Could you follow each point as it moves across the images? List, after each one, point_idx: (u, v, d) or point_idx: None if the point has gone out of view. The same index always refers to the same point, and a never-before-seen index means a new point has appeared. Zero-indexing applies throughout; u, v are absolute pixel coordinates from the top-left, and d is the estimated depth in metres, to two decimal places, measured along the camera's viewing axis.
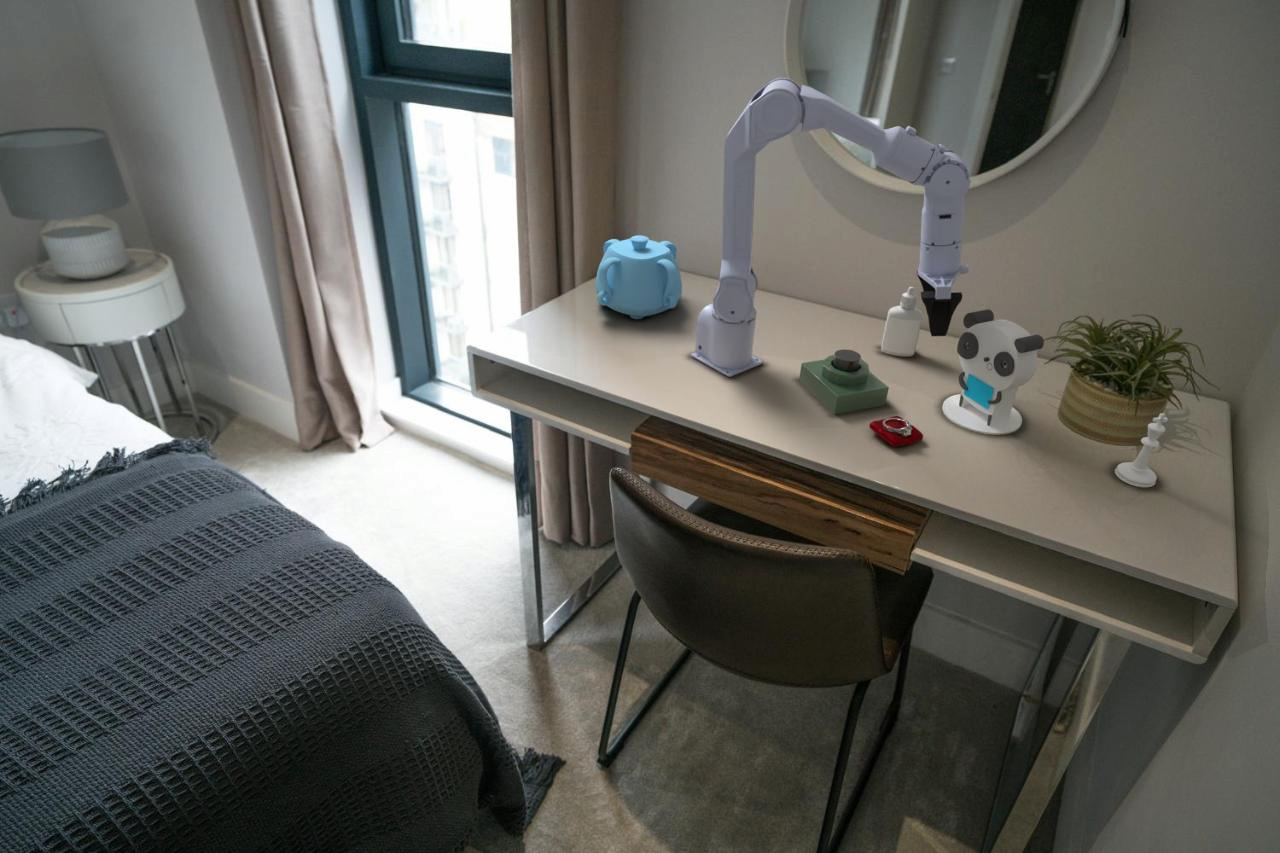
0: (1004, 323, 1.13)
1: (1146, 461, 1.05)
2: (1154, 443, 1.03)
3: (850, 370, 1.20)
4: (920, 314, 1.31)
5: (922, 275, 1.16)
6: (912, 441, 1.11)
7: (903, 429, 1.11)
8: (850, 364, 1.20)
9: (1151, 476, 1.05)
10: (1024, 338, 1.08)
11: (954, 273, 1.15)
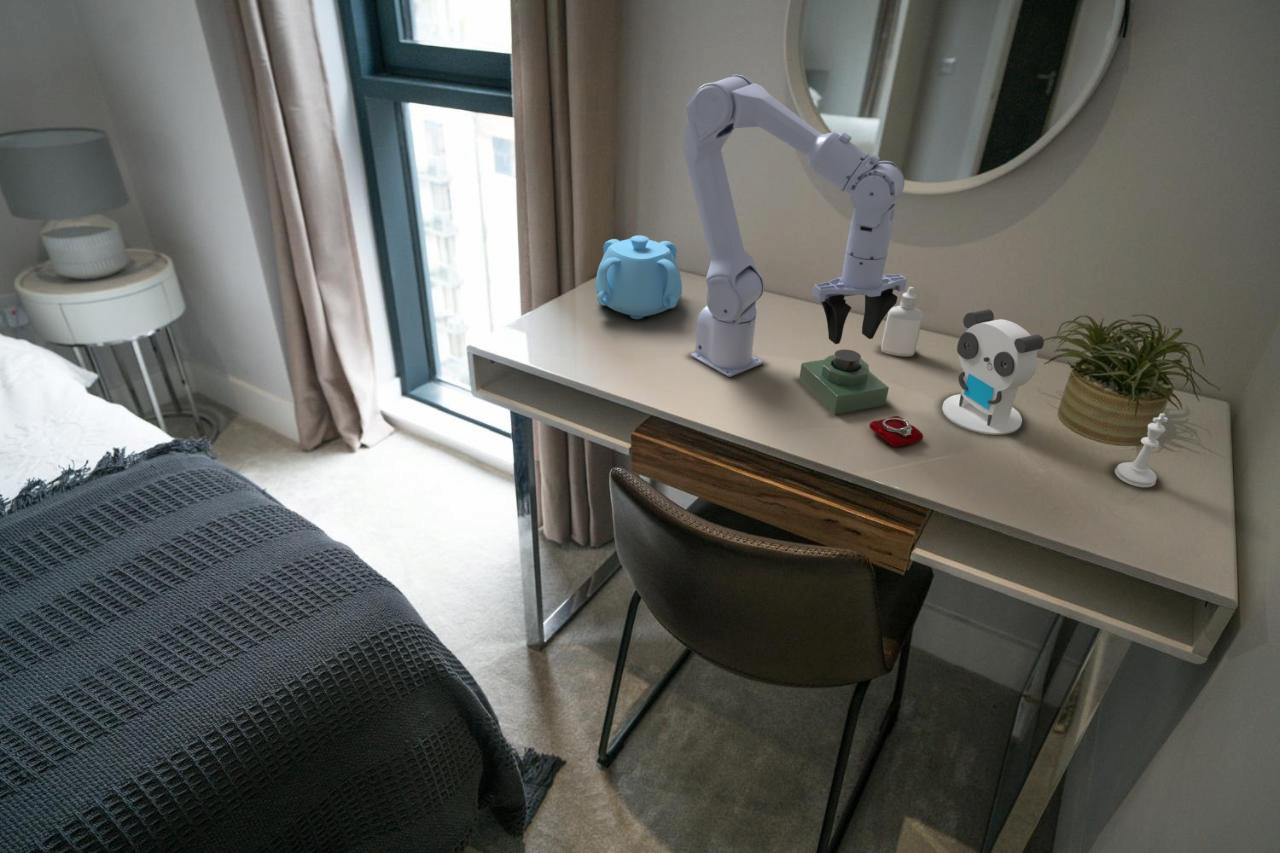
0: (1004, 323, 1.13)
1: (1146, 461, 1.05)
2: (1154, 443, 1.03)
3: (850, 370, 1.20)
4: (920, 314, 1.31)
5: None
6: (912, 441, 1.11)
7: (903, 429, 1.11)
8: (850, 364, 1.20)
9: (1151, 476, 1.05)
10: (1024, 338, 1.08)
11: (853, 288, 1.12)
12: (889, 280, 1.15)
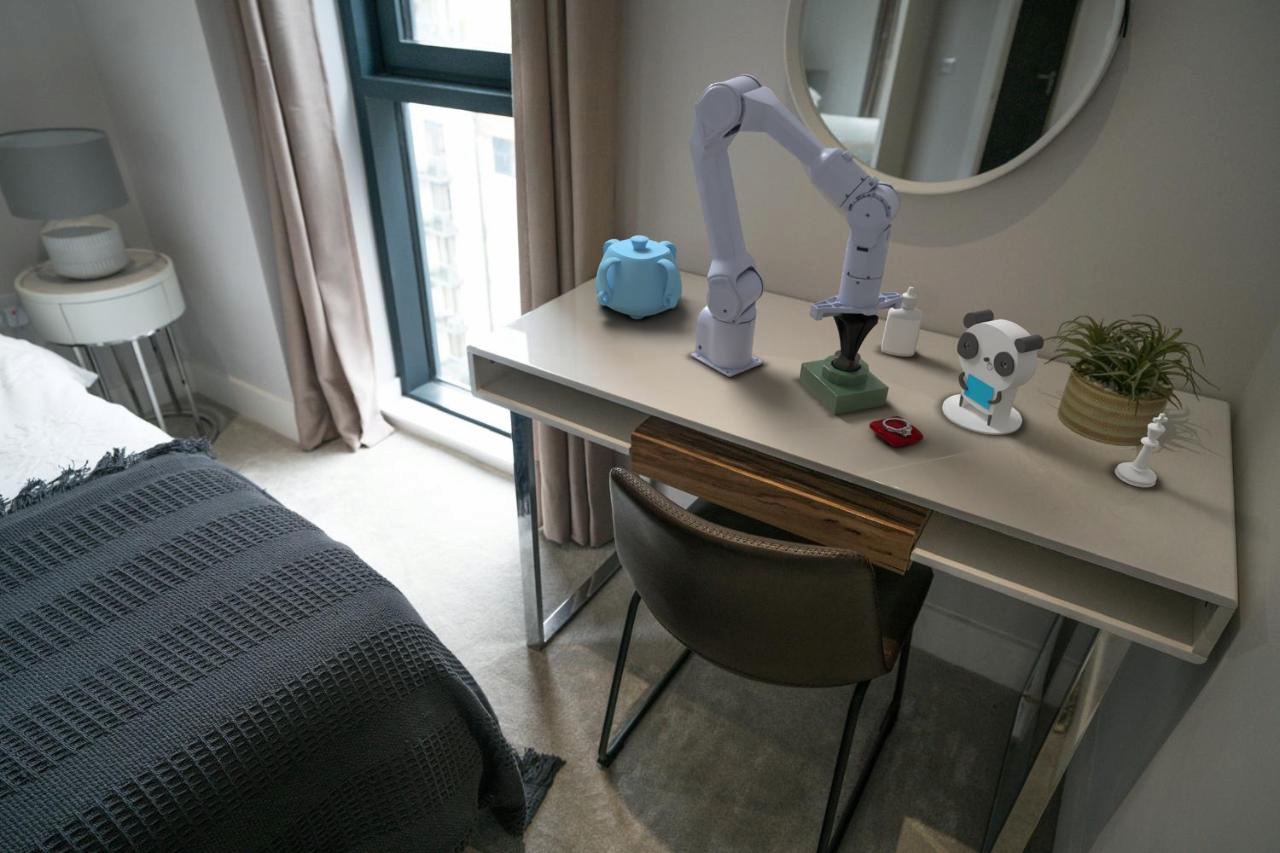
0: (1004, 323, 1.13)
1: (1146, 461, 1.05)
2: (1154, 443, 1.03)
3: (850, 370, 1.20)
4: (920, 314, 1.31)
5: None
6: (912, 441, 1.11)
7: (903, 429, 1.11)
8: (850, 364, 1.20)
9: (1151, 476, 1.05)
10: (1024, 338, 1.08)
11: (850, 307, 1.14)
12: (885, 298, 1.17)
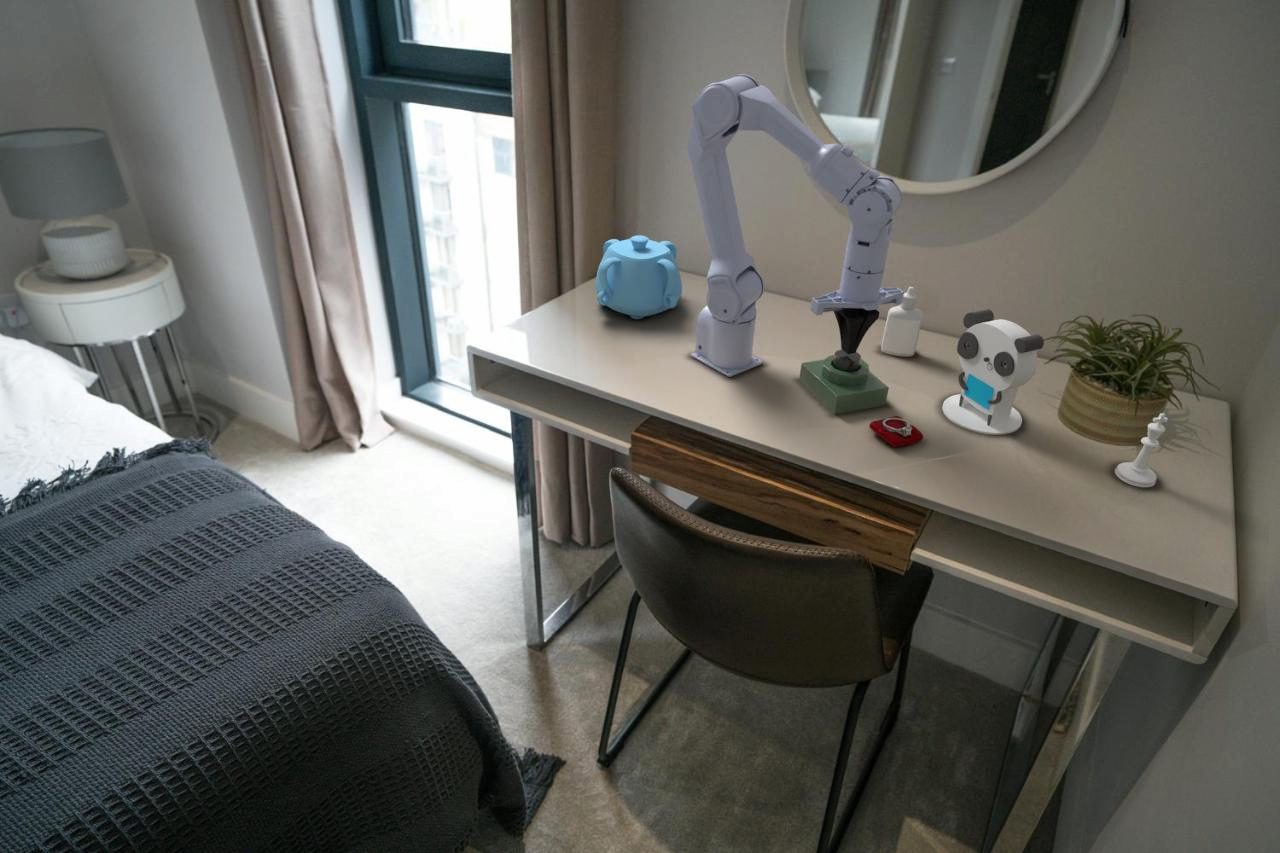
0: (1004, 323, 1.13)
1: (1146, 461, 1.05)
2: (1154, 443, 1.03)
3: (850, 370, 1.20)
4: (920, 314, 1.31)
5: None
6: (912, 441, 1.11)
7: (903, 429, 1.11)
8: (850, 364, 1.20)
9: (1151, 476, 1.05)
10: (1024, 338, 1.08)
11: (851, 302, 1.13)
12: (886, 293, 1.16)
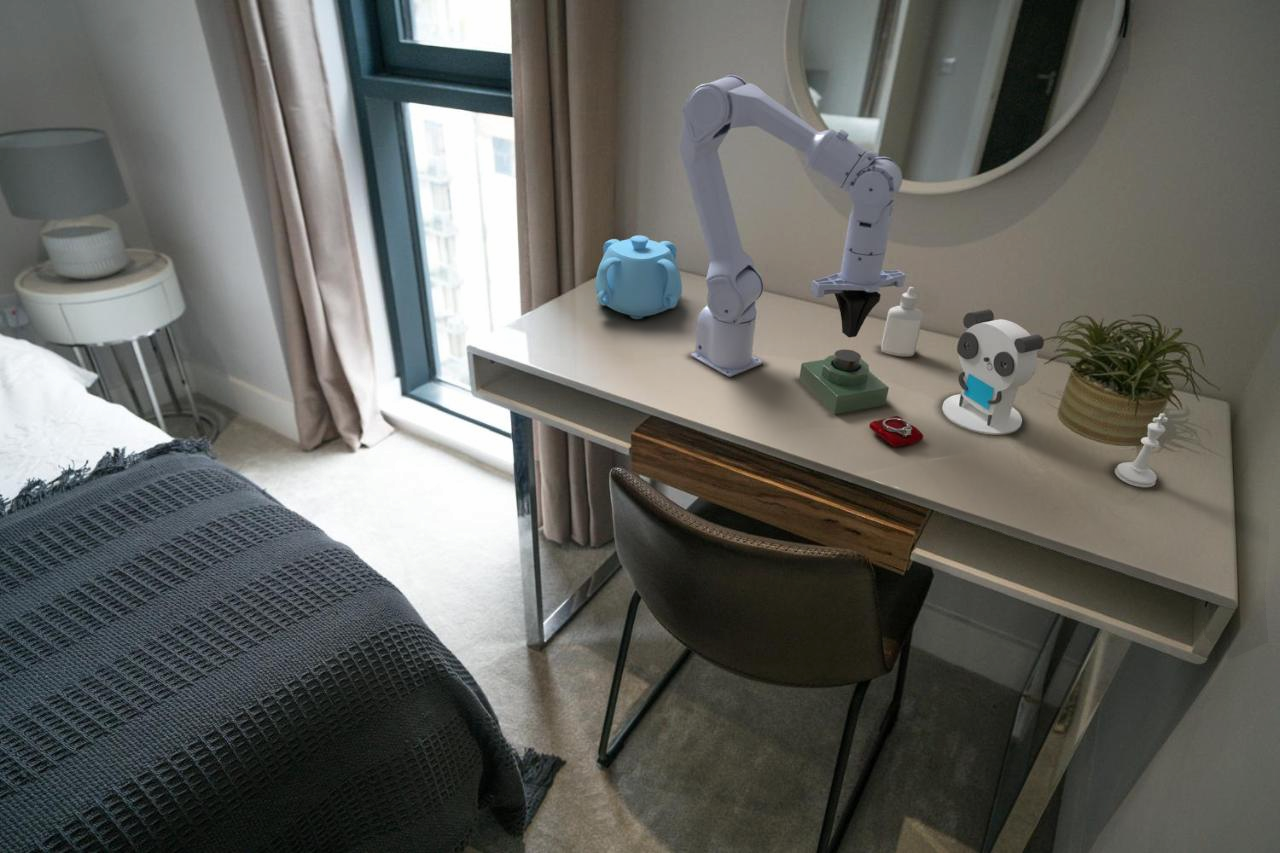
0: (1004, 323, 1.13)
1: (1146, 461, 1.05)
2: (1154, 443, 1.03)
3: (850, 370, 1.20)
4: (920, 314, 1.31)
5: None
6: (912, 441, 1.11)
7: (903, 429, 1.11)
8: (850, 364, 1.20)
9: (1151, 476, 1.05)
10: (1024, 338, 1.08)
11: (852, 284, 1.13)
12: (888, 276, 1.16)
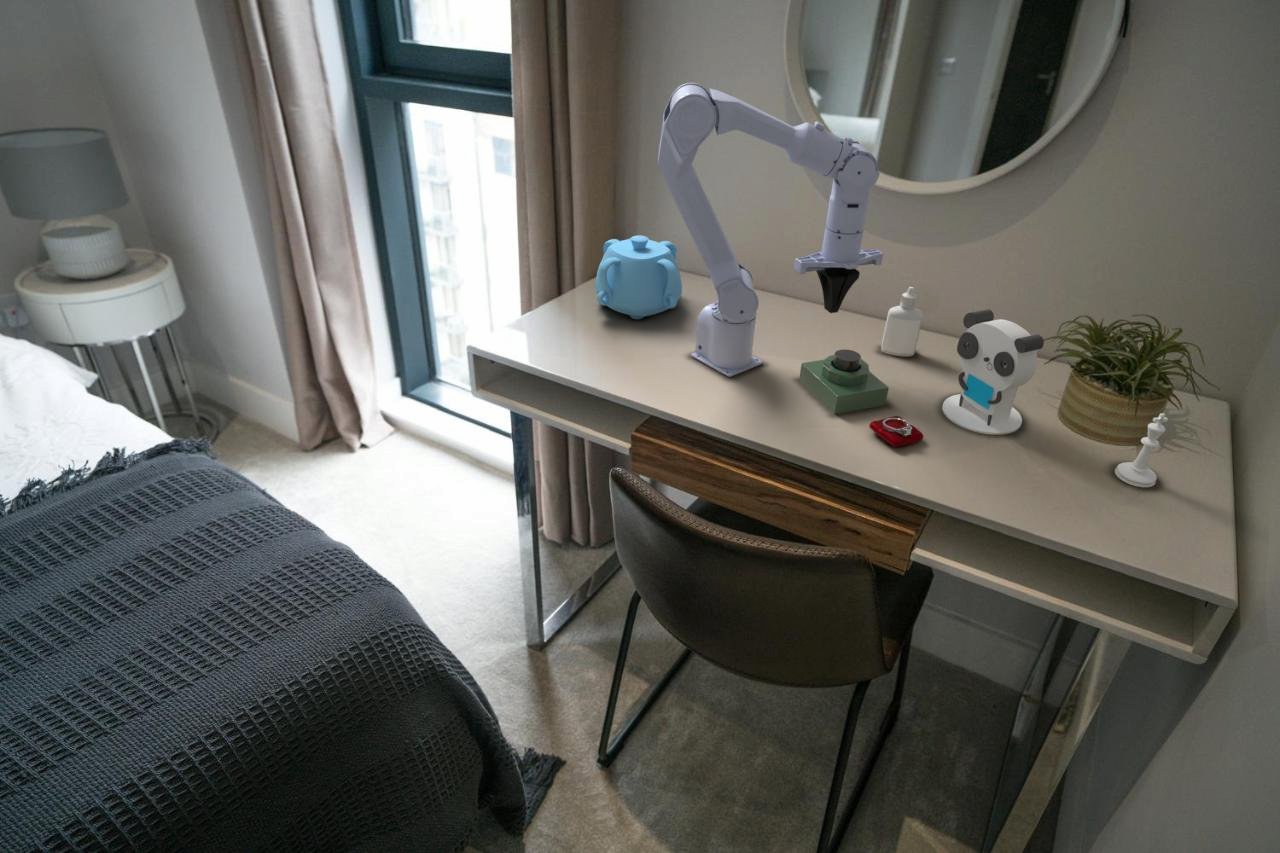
0: (1004, 323, 1.13)
1: (1146, 461, 1.05)
2: (1154, 443, 1.03)
3: (850, 370, 1.20)
4: (920, 314, 1.31)
5: None
6: (912, 441, 1.11)
7: (903, 429, 1.11)
8: (850, 364, 1.20)
9: (1151, 476, 1.05)
10: (1024, 338, 1.08)
11: (832, 261, 1.20)
12: (866, 254, 1.23)
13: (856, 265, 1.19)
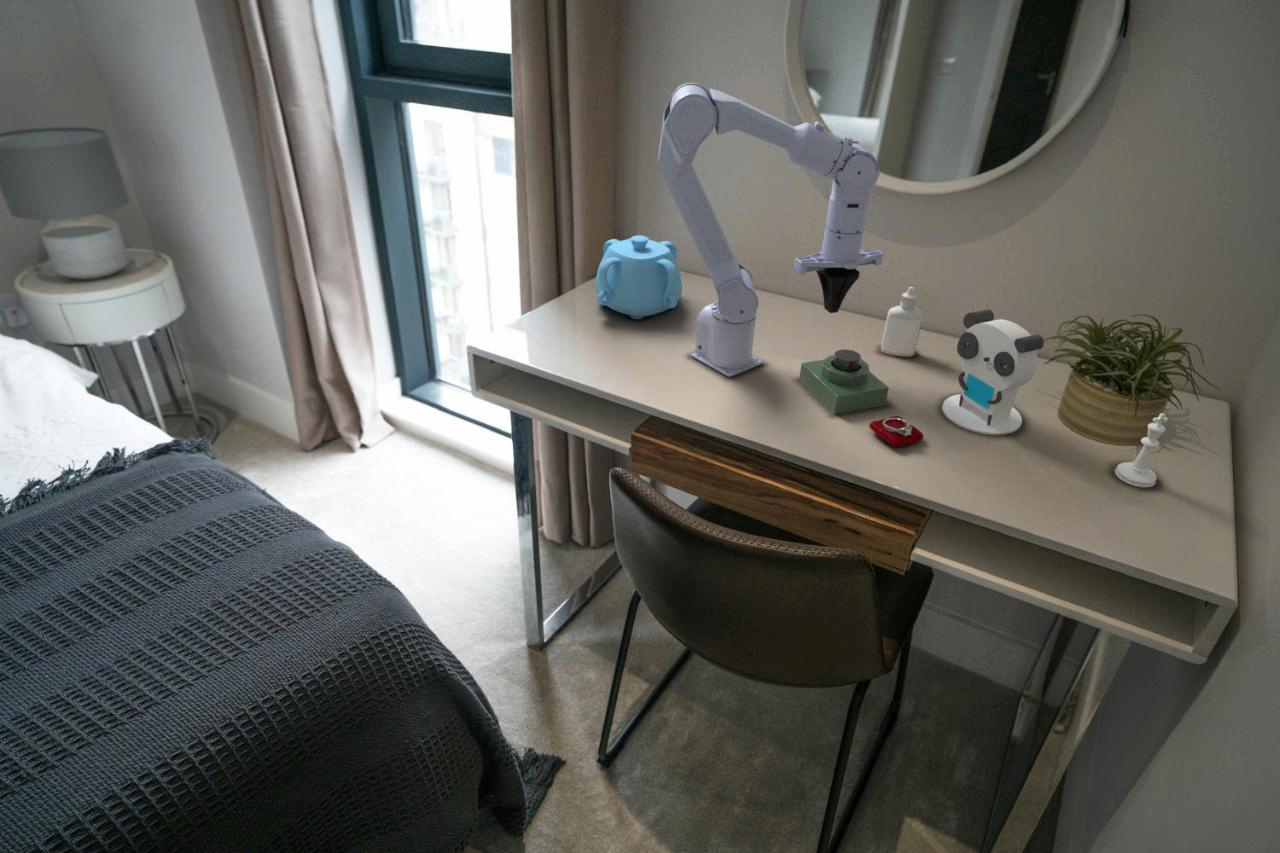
0: (1004, 323, 1.13)
1: (1146, 461, 1.05)
2: (1154, 443, 1.03)
3: (850, 370, 1.20)
4: (920, 314, 1.31)
5: None
6: (912, 441, 1.11)
7: (903, 429, 1.11)
8: (850, 364, 1.20)
9: (1151, 476, 1.05)
10: (1024, 338, 1.08)
11: (832, 261, 1.20)
12: (866, 254, 1.23)
13: (856, 265, 1.19)
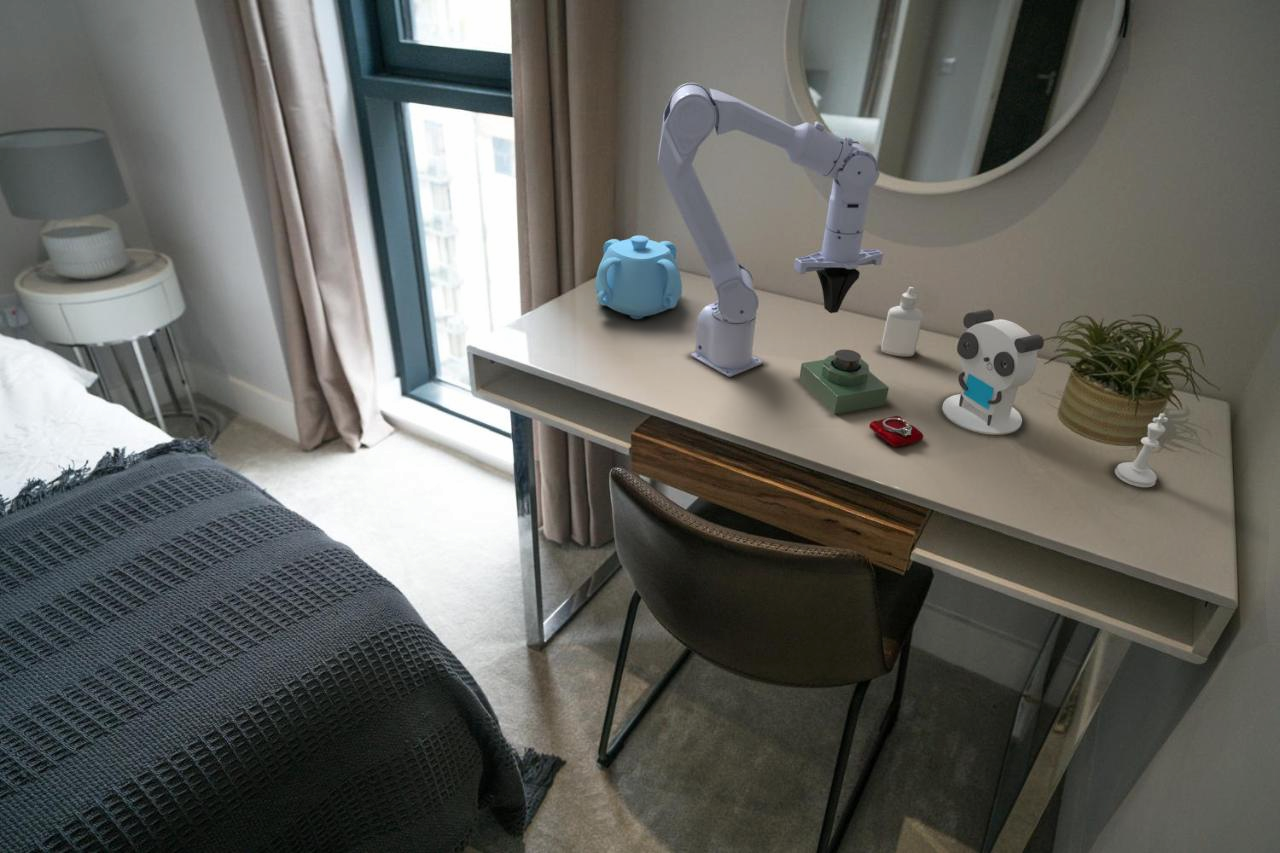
0: (1004, 323, 1.13)
1: (1146, 461, 1.05)
2: (1154, 443, 1.03)
3: (850, 370, 1.20)
4: (920, 314, 1.31)
5: None
6: (912, 441, 1.11)
7: (903, 429, 1.11)
8: (850, 364, 1.20)
9: (1151, 476, 1.05)
10: (1024, 338, 1.08)
11: (832, 261, 1.20)
12: (866, 254, 1.23)
13: (856, 265, 1.19)
